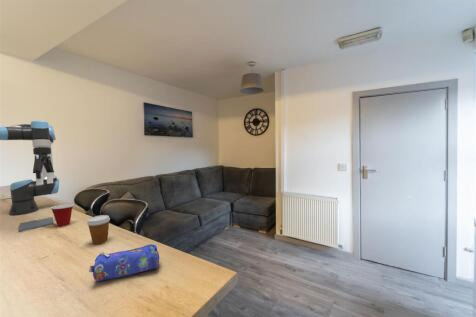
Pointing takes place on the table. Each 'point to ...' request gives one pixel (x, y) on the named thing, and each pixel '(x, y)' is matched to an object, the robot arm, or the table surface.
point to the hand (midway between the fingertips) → (45, 184)
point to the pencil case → (125, 262)
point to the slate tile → (36, 224)
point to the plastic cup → (62, 214)
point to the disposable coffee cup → (99, 228)
